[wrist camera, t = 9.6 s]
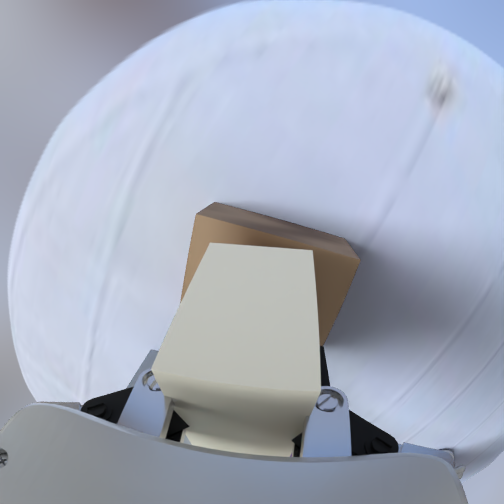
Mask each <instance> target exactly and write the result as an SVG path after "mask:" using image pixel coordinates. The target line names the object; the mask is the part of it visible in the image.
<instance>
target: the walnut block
mask: <svg viewBox="0 0 504 504" xmlns="http://www.w3.org/2000/svg"><path fill="white" fill-rule="evenodd" d="M210 243H222V244H236V245H250V246H263V247H276V248H290V249H303V250H313V260H314V271H315V282H316V295H317V309H318V325H319V344H320V346H323V345H324V343H325V341H326V339H327V337H328V335H329V332H330V330H331V328H332V326H333V324H334V322H335V320H336V317H337V315H338V313H339V311H340V308H341V306H342V304H343V302H344V299H345V297H346V295H347V292H348V290H349V288H350V285H351V283H352V280H353V278H354V275H355V273H356V270H357V268H358V265H359V263H360V258H359V257H358V256H357V254H356V253H355V252H354V250H353V249H352V248H351V246H350V245H349V244H348V242H347V241H346V240H345V239H344V238H341V237H338V236H334V235H331V234H328V233H325V232H321V231H318V230H314V229H311V228H308V227H304V226H301V225H297V224H294V223H290V222H287V221H283V220H280V219H276V218H273V217H269V216H265V215H262V214H258V213H254V212H251V211H247V210H243V209H240V208H236V207H232V206H228V205H224V204H220V203H216V202H214V203H212V204H211V205H209V206H207V207H206V208H204V209H203V210H201V211H200V212H198V213H197V214H196V217H195V222H194V227H193V232H192V237H191V242H190V248H189V253H188V259H187V265H186V271H185V277H184V283H183V289H182V296H181V301H182V299H183V297H184V295H185V293H186V291H187V289H188V287H189V285H190V282H191V280H192V278H193V276H194V274H195V272H196V270H197V268H198V266H199V264H200V262H201V260H202V258H203V256H204V254H205V252H206V250H207V248H208V246H209V244H210ZM180 303H181V302H180Z"/></svg>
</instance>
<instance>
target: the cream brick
mask: <svg viewBox="0 0 504 504" xmlns="http://www.w3.org/2000/svg"><path fill="white" fill-rule="evenodd" d="M151 370H152V372H153V375H154V377H155V379H156V381H157V383H158V385H159V387H160V389H161V391H162V393H163V395H164V396H168V397H172V399H173V402H174V404H175V406H174V410H175V412H176V413H177V414H178V415H179V416H180V417H181V418H182V419H183V420H184V421H185V422H186V423H187V424H188V425H189V426H190V427H188V428H186V436H187V438H188V439H189V441H190V443H191V444H192V445H194V446H200V447H205V448H210V449H216V450H223V451H229V452H237V453H245V454H255V455H266V456H281V457H290V455H291V453H292V449H293V444H294V442H292V441H291V440H292V439H293V438H295V437H296V436H298V435H299V434H300V433H302V431H303V422H304V420H305V418H306V416H310V415H311V413H312V411H313V408H314V406H315V404H316V402H317V399H318V397H319V395H320V392H321V371H320V344H319V325H318V309H317V295H316V282H315V271H314V260H313V250H303V249H290V248H276V247H263V246H250V245H236V244H222V243H210V244H209V246H208V248H207V250H206V252H205V254H204V256H203V258H202V260H201V262H200V264H199V266H198V268H197V270H196V272H195V274H194V276H193V278H192V280H191V282H190V285H189V287H188V289H187V291H186V293H185V295H184V297H183V299H182V301H181V303H180V306H179V308H178V310H177V312H176V314H175V316H174V319H173V321H172V323H171V325H170V327H169V329H168V332H167V334H166V336H165V338H164V340H163V343H162V345H161V347H160V349H159V352H158V354H157V356H156V359H155V361H154V363H153V365H152V368H151Z"/></svg>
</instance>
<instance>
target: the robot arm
mask: <svg viewBox="0 0 504 504" xmlns="http://www.w3.org/2000/svg"><path fill="white" fill-rule="evenodd" d="M320 371H321V392H320V395H319V397H318V399H317V402H316V404H315V406H314V408H313V411H312V413H311V415H310V416H306V418H305V420H304V422H303V431H302V433H300V434H299V435H298V436H296V437H295V438H293V439H292V440H291V441H292V442H294V444H293V449H292V457H281V456H266V455H255V454H245V453H237V452H229V451H223V450H216V449H210V448H205V447H200V446H194V445H190V444H185V443H184V438H185V434H186V428H188V427H190V426H189V425H188V424H187V423H186V422H185V421H184V420H183V419H182V418H181V417H180V416H179V415H178V414H177V413H176V412H175V410H174V406H175V404H174V402H173V399H172V397H168V396H164V395H163V393H162V391H161V389H160V387H159V385H158V383H157V381H156V379H155V377H154V375H153V372H152V370H151V368H149V369H147V370H145V371H143V372H142V373H141V374H140V376H139V377H138V379H137V381H136V383H135V385H134V387H130V388H127V389H124V390H121V391H117V392H114V393H111V394H107V395H104V396H100V397H97V398H93V399H91V400H88V401H87V402H86V403H84V405H81V404H80V402H37V403H32V404H29V405H26V406H24V407H23V408H21V409H20V410H19V411H18V412H16V413H15V414H14V415H13V416H12V417H11V418H10V419H9V420H8V422H7V423H6V424H5V425H4V426H3V427H2V429H1V430H0V504H468V502H467V499H466V495H465V492H464V490H463V487H462V484H461V482H460V480H459V479H461V478H462V476H463V472H464V471H465V466H464V465H462V466H459V467H457V468H454V455H453V452H452V451H450V450H437V449H431V448H427V447H422V446H417V445H413V444H409V443H405V442H404V443H403V444H402V445H401V444H398V443H397V441H396V440H395V438H394V437H392V436H391V435H390V434H388V433H386V432H384V431H383V430H381V429H379V428H378V427H376V426H374V425H373V424H371V423H369V422H368V421H366V420H364V419H363V418H361V417H360V416H358V415H356V414H355V413H353V412H352V411H350V410H349V405H348V399H347V396H346V395H345V394H344V392H342V391H341V390H339V389H337V388H335V387H330V382H329V376H328V370H327V364H326V358H325V352H324V347H323V346H320Z"/></svg>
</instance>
